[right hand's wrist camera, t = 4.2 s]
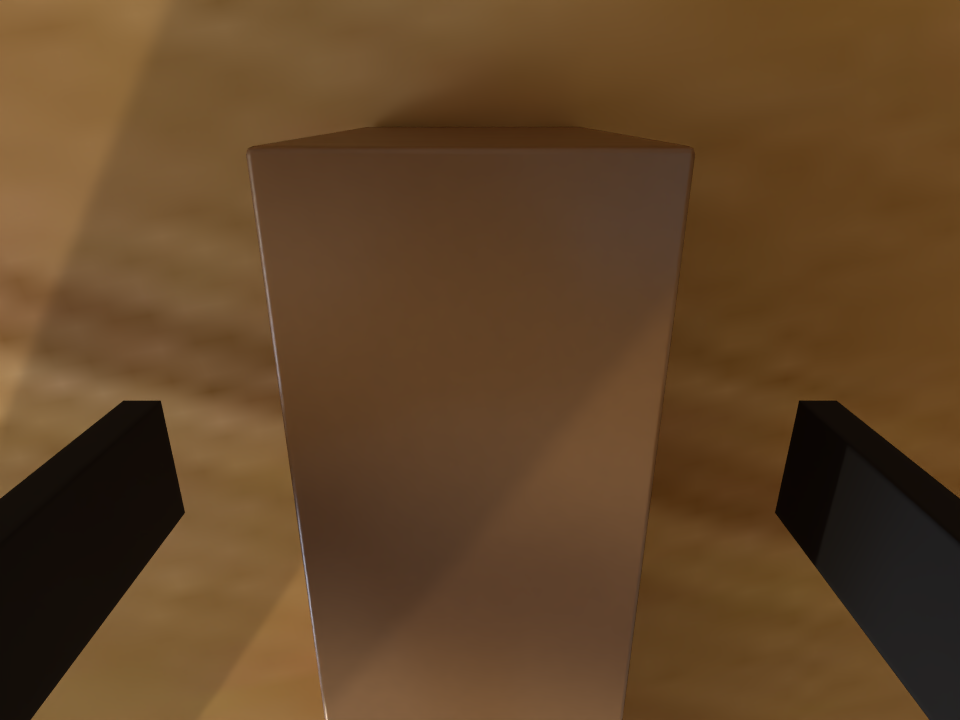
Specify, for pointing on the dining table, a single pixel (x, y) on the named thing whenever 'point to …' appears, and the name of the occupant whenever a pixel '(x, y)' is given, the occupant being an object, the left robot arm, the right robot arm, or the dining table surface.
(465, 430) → the bar
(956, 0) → the dining table surface
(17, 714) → the right robot arm
